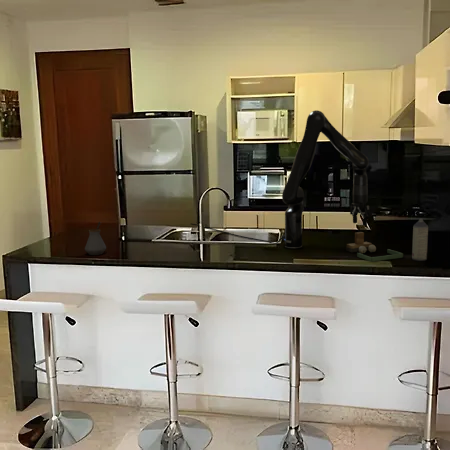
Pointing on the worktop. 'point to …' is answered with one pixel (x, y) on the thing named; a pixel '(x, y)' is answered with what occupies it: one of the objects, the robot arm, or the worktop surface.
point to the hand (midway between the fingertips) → (359, 224)
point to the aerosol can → (420, 241)
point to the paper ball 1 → (362, 249)
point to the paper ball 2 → (372, 248)
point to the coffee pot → (95, 242)
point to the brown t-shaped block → (358, 243)
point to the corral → (395, 255)
